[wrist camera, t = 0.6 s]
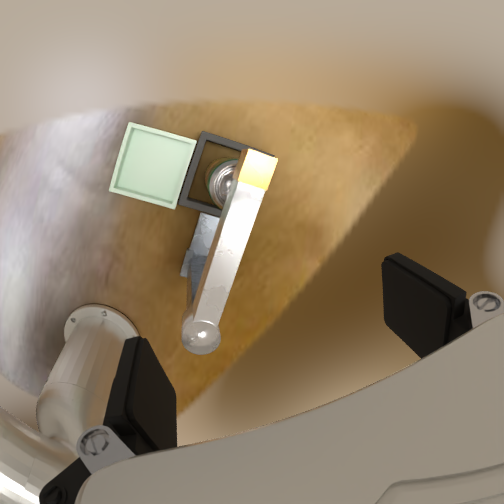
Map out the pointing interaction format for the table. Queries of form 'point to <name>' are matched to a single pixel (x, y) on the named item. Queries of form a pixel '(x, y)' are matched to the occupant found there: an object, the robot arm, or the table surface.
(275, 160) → the bar
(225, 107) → the table surface
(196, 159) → the collar
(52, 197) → the table surface
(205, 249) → the post
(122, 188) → the tray
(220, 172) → the soda can
